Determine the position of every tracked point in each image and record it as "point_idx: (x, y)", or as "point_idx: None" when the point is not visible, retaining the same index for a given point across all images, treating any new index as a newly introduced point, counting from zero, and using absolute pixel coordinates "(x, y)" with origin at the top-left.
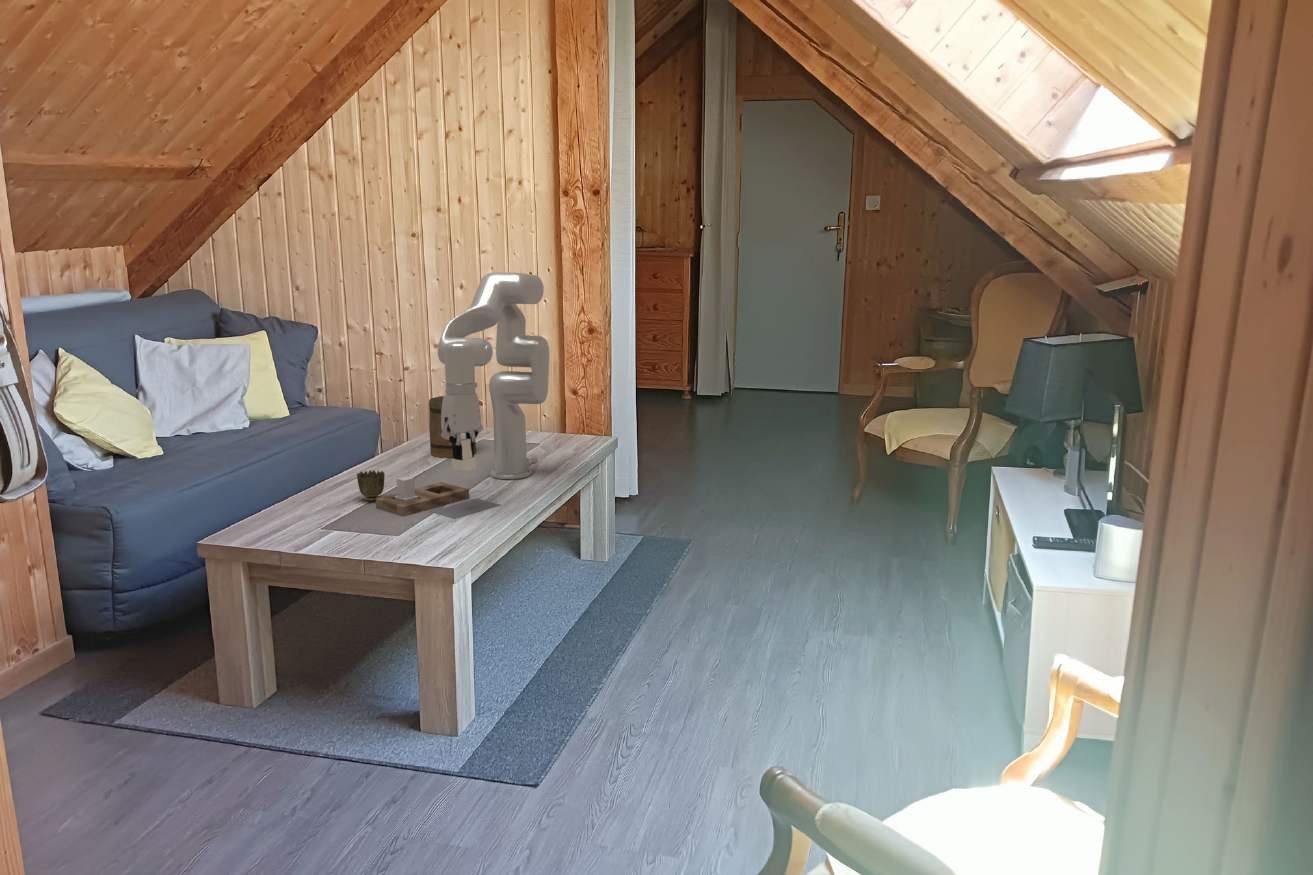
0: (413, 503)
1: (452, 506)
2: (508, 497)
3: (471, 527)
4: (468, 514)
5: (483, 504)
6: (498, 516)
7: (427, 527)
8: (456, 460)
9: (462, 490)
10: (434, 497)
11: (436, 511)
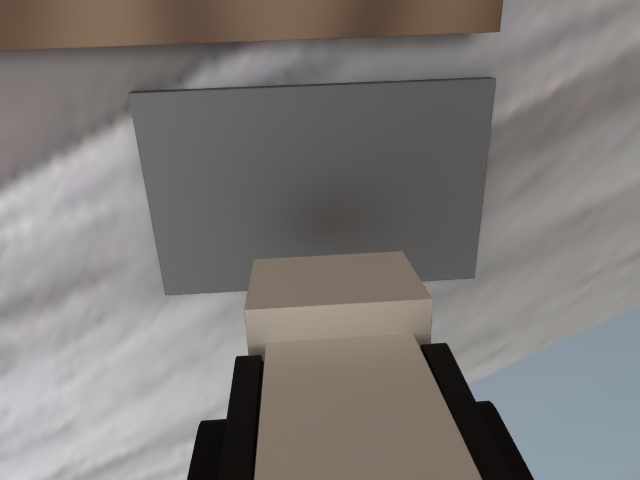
0: (2, 36)
1: (282, 114)
2: (630, 167)
3: (172, 406)
4: None
5: (422, 212)
6: None
7: (7, 285)
8: None
9: (450, 21)
10: (199, 18)
11: (155, 128)
